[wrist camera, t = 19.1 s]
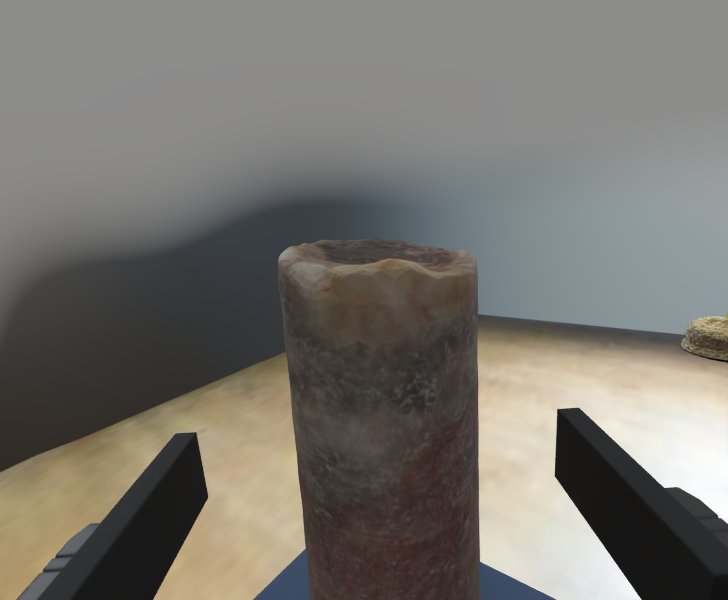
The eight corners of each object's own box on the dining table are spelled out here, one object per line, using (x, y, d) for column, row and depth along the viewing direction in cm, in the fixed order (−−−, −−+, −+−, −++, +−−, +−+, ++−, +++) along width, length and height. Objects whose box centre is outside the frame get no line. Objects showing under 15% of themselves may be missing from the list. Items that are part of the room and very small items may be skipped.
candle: (410, 571, 24) (391, 231, 19) (519, 686, 18) (528, 232, 13) (293, 657, 20) (233, 250, 15) (383, 844, 14) (329, 264, 9)
